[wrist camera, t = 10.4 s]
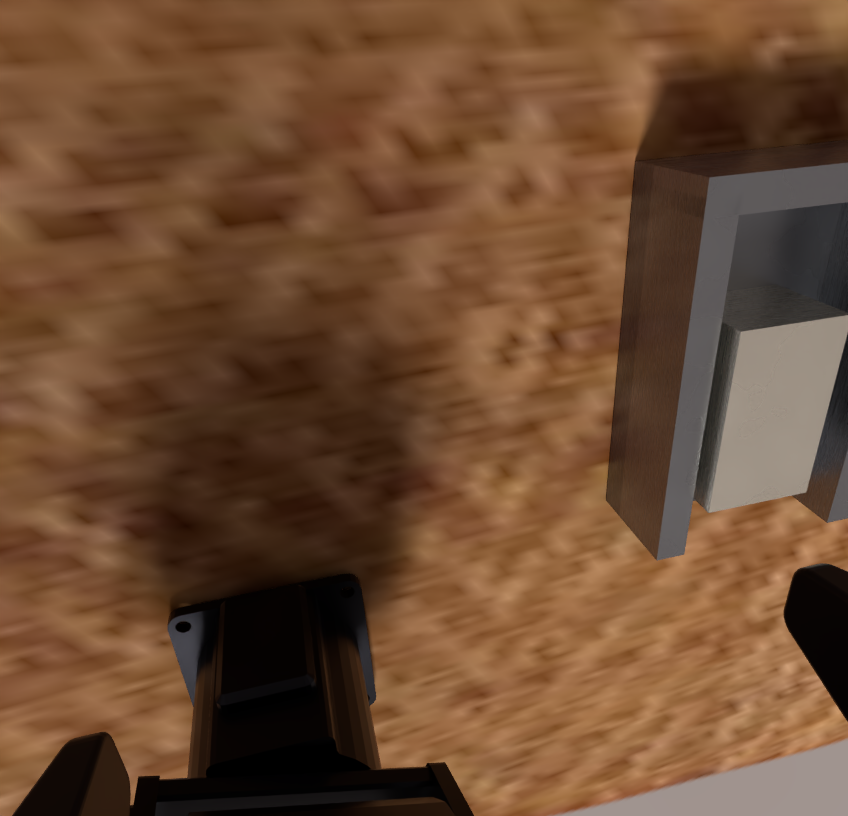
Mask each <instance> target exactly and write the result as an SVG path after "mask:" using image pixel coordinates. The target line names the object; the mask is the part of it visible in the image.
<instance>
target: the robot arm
mask: <svg viewBox="0 0 848 816" xmlns="http://www.w3.org/2000/svg"><path fill="white" fill-rule="evenodd" d="M345 587H351V588H350V589H348V590H342V589H343V588H345ZM784 620H785V623H786V626H787V628H788V630H789V632H790V633H791V635H792V636H793V638H794V639H795V641H796V643H797V644H798V646H799V647H800V649H801V650H802V652H803V653H804V655H805V657H806V658H807V660H808V661H809V663H810V664H811V666H812V667H813V669H814V671H815V672H816V674H817V675H818V677H819V678H820V680H821V681H822V683H823V685H824V686H825V688H826V689H827V691H828V692H829V694H830V695H831V697H832V698H833V700H834V702H835V703H836V705H837V706H838V708H839V709H840V711H841V712H842V714H843V716H844V717H845V718H846V720H847V721H848V572H847V571H845V570H843V569H840V568H838V567H835V566H833V565H830V564H823V563H822V564H816V565H812V566H807V567H803V568H800V569H798V570H797V571H796V572H795V573H794V575H793V577H792V581H791V585H790V589H789V592H788V596H787V600H786V604H785V607H784ZM181 621H187V622H189V623H187V624H181V623H179V622H181ZM168 632H169V635H170V638H171V641H172V644H173V647H174V650H175V653H176V656H177V659H178V662H179V665H180V668H181V671H182V674H183V677H184V680H185V683H186V686H187V689H188V692H189V695H190V698H191V701H192V704H193V707H194V709H193V721H192V732H191V743H190V755H189V766H188V777H187V778H178V779H159V778H160V776H140V777H138V782H137V788H136V794H135V800H134V805H130V781H129V777H128V773H127V771H126V769H125V766H124V764H123V762H122V759H121V757H120V755H119V753H118V750H117V748H116V746H115V743H114V741H113V739H112V737H111V736H110V735H109V734H108V733H106V732H99V733H94V734H90V735H86V736H81V737H77V738H74V739H71V740H70V741H68V742H67V743H66V744H65V745H64V746H63V747H62V749H61V750H60V751H59V753H58V754H57V755H56V757H55V758H54V759H53V761H52V762H51V763H50V765H49V766H48V768H47V769H46V770H45V772H44V773H43V774H42V776H41V777H40V778H39V780H38V781H37V782H36V784H35V785H34V787H33V788H32V789H31V791H30V792H29V793H28V795H27V796H26V797H25V799H24V800H23V801H22V803H21V804H20V806H19V807H18V808H17V810H16V811H15V812H14V814H13V815H12V816H474V815H473V813H472V811H471V809H470V807H469V805H468V804H467V802H466V800H465V798H464V796H463V794H462V793H461V791H460V789H459V787H458V785H457V783H456V781H455V780H454V778H453V776H452V774H451V772H450V770H449V769H448V767H447V765H446V763H445V762H443V763H427V765H426V767H408V768H387V769H381V763H380V758H379V753H378V748H377V742H376V737H375V732H374V727H373V722H372V716H371V711H370V705H371V704H373V703H374V701H375V700H376V692H375V684H374V677H373V670H372V663H371V655H370V648H369V641H368V633H367V626H366V619H365V611H364V604H363V597H362V589H361V585H360V581H359V579H358V577H357V576H355V575H353V574H350V573H349V574H341V575H336V576H331V577H326V578H321V579H316V580H311V581H307V582H302V583H297V584H292V585H287V586H282V587H277V588H273V589H268V590H263V591H258V592H253V593H248V594H243V595H239V596H234V597H229V598H224V599H219V600H214V601H209V602H205V603H200V604H195V605H190V606H185V607H181V608H178V609H175V610H174V611H173V612H172V613H171V614H170V616H169V620H168Z"/></svg>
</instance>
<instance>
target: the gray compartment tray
mask: <svg viewBox="0 0 848 816" xmlns="http://www.w3.org/2000/svg"><path fill="white" fill-rule="evenodd" d="M791 495H792V496H793V497H794V498H796V499H797V500H798V501H799V502H801V503H802V504H803V505H805V506H806V507H807V508H809V509H810V510H811V511H812V512H814V513H815V514H816V515H818V516H819V517H820V518H821V519H823V520H824V521H825V522H827V523H828V522H833V521H837V520H842V519H846V518H848V140H843V141H833V142H823V143H813V144H803V145H793V146H783V147H773V148H763V149H753V150H743V151H733V152H723V153H713V154H703V155H693V156H683V157H673V158H663V159H653V160H643V161H636V162H635V173H634V185H633V196H632V208H631V219H630V231H629V242H628V254H627V265H626V277H625V288H624V300H623V311H622V323H621V335H620V346H619V358H618V369H617V381H616V392H615V404H614V415H613V427H612V438H611V450H610V461H609V473H608V484H607V496H606V501H607V502H608V503H609V504H610V506H611V507H612V508H613V509H614V510H615V512H616V513H617V514H618V515H619V516H620V517H621V519H622V520H623V521H624V522H625V523H626V525H627V526H628V527H629V528H630V529H631V531H632V532H633V533H634V534H635V535H636V536H637V538H638V539H639V540H640V541H641V542H642V544H643V545H644V546H645V547H646V548H647V550H648V551H649V552H650V553H651V554H652V555H653V557H654V558H655V559H656V560H661V559H666V558H670V557H675V556H679V555H684V552H685V546H686V539H687V533H688V527H689V521H690V515H691V509H692V502H693V501H694V500H696V501H697V502H698V503H699V504H700V505H701V506H702V507H703V508H704V509H705V510H706V511H707V512H708V513H710V512H715V511H720V510H725V509H730V508H734V507H739V506H744V505H749V504H753V503H758V502H763V501H768V500H772V499H777V498H782V497H787V496H791Z"/></svg>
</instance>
